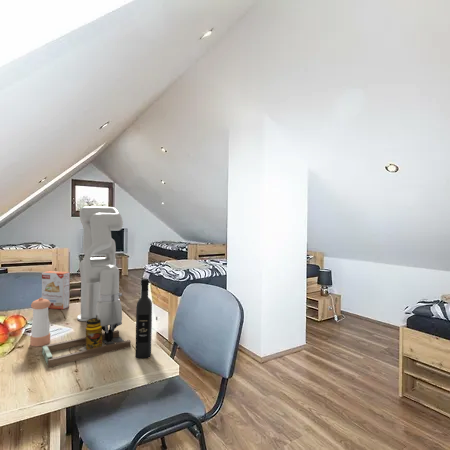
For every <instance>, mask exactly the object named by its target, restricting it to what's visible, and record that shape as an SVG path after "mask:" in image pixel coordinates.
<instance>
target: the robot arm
mask: <svg viewBox="0 0 450 450" xmlns="http://www.w3.org/2000/svg"><path fill="white" fill-rule="evenodd" d="M79 220H80V223H81V224H82V228H83V236H82V237H83V238H82V239H83V241H82V243H83V244H82V251H83V253H84V256H83V259H82V260H80V262H79V275H80V314H78V315H77V316H76V319H77V320H78V321H80V322H87V320H89V319H91V318H97V319H98V320H100V321H101V324H100V325H101V326H102V332H103V333H105V340H106V341H107V342H111V341H113V340H112V338H113V331H115V330H116V328H117V327H119V326H122V325H123V322H122V321H123V308H122V302H121V299H120V297H122V296H123V293H122V292H120V270H119V267H118V266H117V265H116V253H117V252H116V250H117V248H116V241H115V239H113V238H112V231H113V232H114V231H117V232H118V231H121V230H122V229H123V225H124V224H123V223H124V221H123V217H122V214H121V213H120V212H119V211H118V209H117V208H116V207H114V206H97V205H96V206H95V205H91V206H89V205H87V206H83V207H81V208H80V210H79ZM97 256H98V257H97ZM99 256H100V257H99ZM101 256H102V257H101ZM103 256H105V257H103Z"/></svg>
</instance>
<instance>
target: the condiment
mask: <svg viewBox="0 0 450 450" xmlns="http://www.w3.org/2000/svg"><path fill="white" fill-rule="evenodd" d="M100 324H101V321H100V320H98V319H97V318H91V319H89V320H87V321H86V327H85V337H86V344H85V346H83V347H81V348H78V350H79V351H84V350H88V349H92V348H97V347H101V346H105V345H106V344H103V341H102V333H103V330H102V326H101V325H100Z"/></svg>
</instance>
